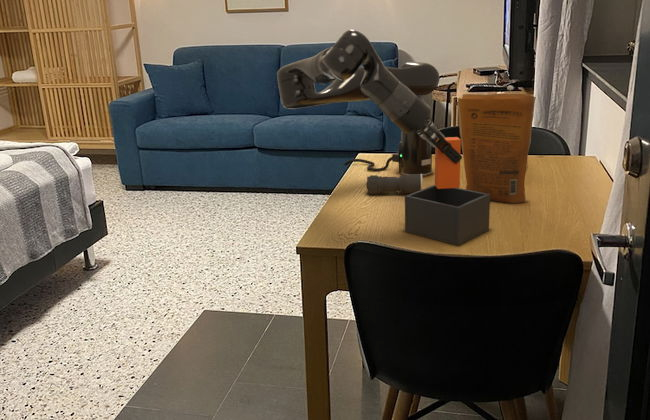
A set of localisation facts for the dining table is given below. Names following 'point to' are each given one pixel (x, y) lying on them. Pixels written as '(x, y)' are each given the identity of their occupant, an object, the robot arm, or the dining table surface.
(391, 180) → the flashlight
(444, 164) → the block
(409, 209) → the trash bin
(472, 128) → the pancake mix bag
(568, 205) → the dining table surface
